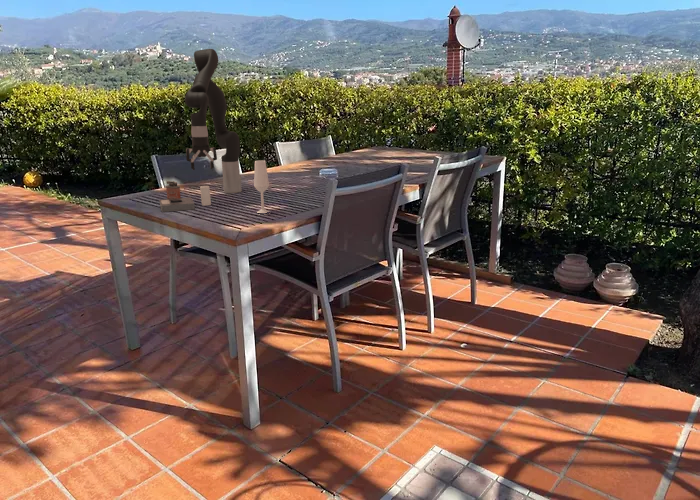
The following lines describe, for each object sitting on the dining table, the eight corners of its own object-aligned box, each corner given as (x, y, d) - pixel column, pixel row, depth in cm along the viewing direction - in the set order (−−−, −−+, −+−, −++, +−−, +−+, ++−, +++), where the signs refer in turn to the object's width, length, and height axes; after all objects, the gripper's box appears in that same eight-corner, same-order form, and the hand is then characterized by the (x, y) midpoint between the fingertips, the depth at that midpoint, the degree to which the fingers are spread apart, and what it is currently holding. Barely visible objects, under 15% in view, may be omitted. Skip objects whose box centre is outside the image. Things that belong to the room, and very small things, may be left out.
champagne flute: (272, 211, 239) (269, 160, 231) (267, 214, 232) (264, 162, 225) (259, 210, 240) (256, 159, 233) (253, 214, 234) (250, 161, 227)
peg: (209, 203, 256) (208, 185, 254) (210, 205, 253) (209, 187, 250) (201, 204, 255) (200, 186, 252) (202, 205, 251) (201, 187, 249)
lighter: (182, 200, 264) (180, 181, 261) (178, 201, 261) (176, 182, 258) (169, 199, 267) (167, 180, 263) (165, 200, 263) (163, 181, 260)
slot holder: (191, 203, 257) (190, 196, 256) (194, 209, 244) (194, 202, 243) (160, 205, 251) (159, 199, 250) (161, 212, 238) (161, 205, 237)
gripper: (213, 134, 250) (216, 167, 254) (183, 135, 244) (186, 169, 249) (216, 135, 243) (218, 169, 248) (185, 136, 238) (188, 171, 243)
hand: (202, 169), depth 249 cm, fingers open, 8 cm apart
